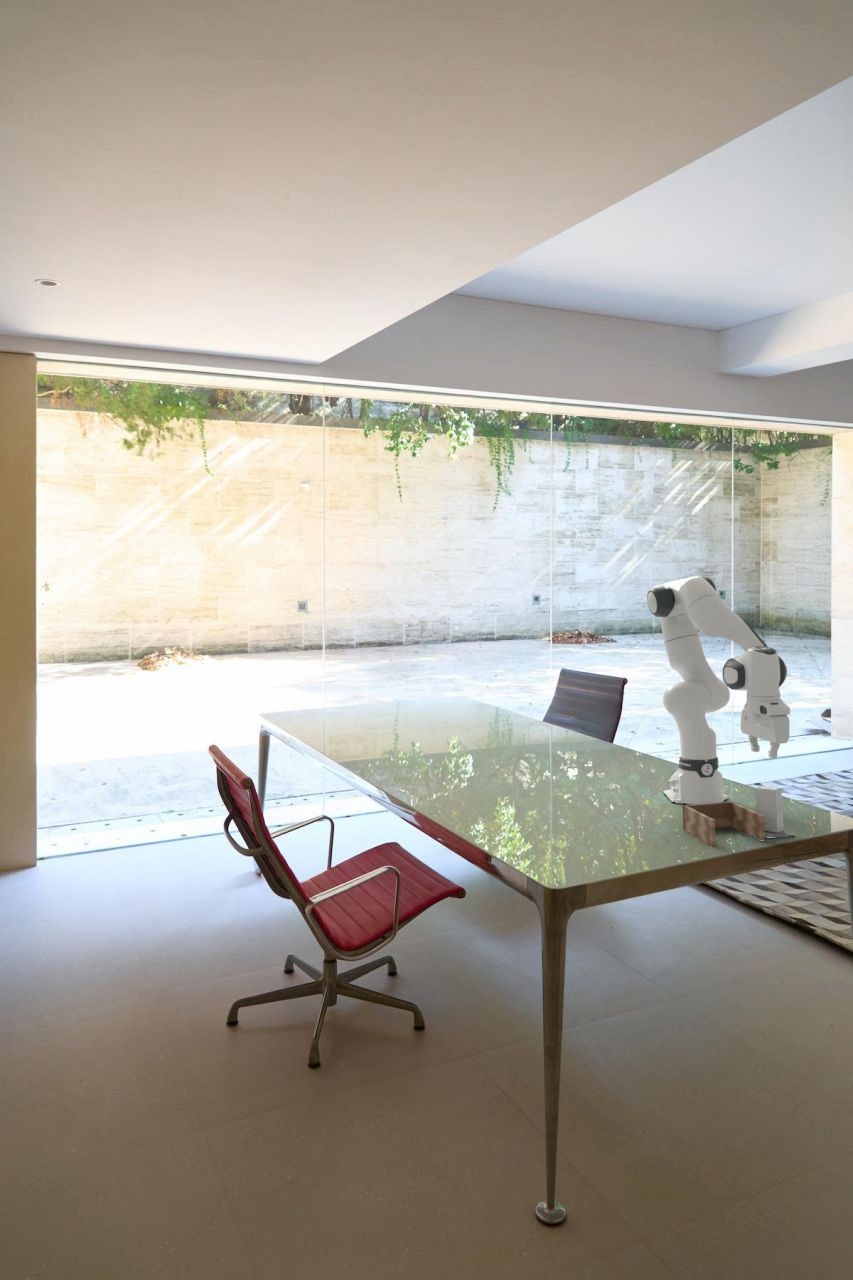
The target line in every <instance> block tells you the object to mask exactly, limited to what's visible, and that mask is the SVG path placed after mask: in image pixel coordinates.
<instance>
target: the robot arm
mask: <svg viewBox="0 0 853 1280" xmlns="http://www.w3.org/2000/svg"><path fill="white" fill-rule="evenodd" d="M713 581H714V580H712V579H711V578H710V577H708V576H697V575H696V576H691V577H689V578H688V577H687V578H680V579H676V580H673V581H669V582H668V581H667V582H665V583H663V584H661V583H658V584H656V585H654V586H652V587H650V588H649V590H648V591H647V594H646V595H647V596H646V601H647V607H648V609H649V612H650V613H651V614H652V615H654V617H658V618H660V623H661V624H660V626H661V633H662V639H663V643H664V647H665V650H666V654H667V659H668V661H669V665H670V667H671V668H672V669H673V670H674V671H676V673H678V674H679V675H680V676H681V677H682V678H681V679H683V681H681V682H678V683H675V684H673V685H671V686H670V687H668V688H667V689H666V690H665V691H664V693H663V698H662V700H663V705H664V708H665V710H666V711H667V712H668V714H670V715H671V716H672V717H673V719H674V721H675V723H676V726H677V729H678V734H679V739H680V740H679V742H680V743H679V744H680V756H679V757H678V758H679V759H678V769H677V770H676V771H675V772H674V773H673V774H672V775H671V776H670V779H668V781H667V784H668V787H670V788H669V789H666V790H663V792H664V793H665V794H666V795H667V797H668V798H669V799H670V800H671V801H672V802H675V803H674V804H684V803H685V804H684V805H695V804H708V803H720V802H725V800H728V799H729V797H728V795H727V794H725V790H724V789H725V787H724V781H723V780H724V779H723V774H722V773H721V772H720V771H719V764H720V763H719V758H718V755H717V735H716V732H715V731H714V729H712V727H710V726H709V724H708V721H707V719H706V718H707V717H706V714H708V713H714V712H716V711H717V712H718V711H719V710H721V709H722V708H724V707H726V706H727V705H728V703H729V701H730V698H731V697H730V696H731V693H730V690H734V691H746V702H745V704H744V705H743V709H742V711H741V715H740V731H741V733H742V734H744V735H748V741H749V743H750V750H751V751H752V752H755V753H759V752H760V747H761V746H760V745H759V743H758V739H760V740H764V741H767V742H769V745H770V749H769V750H768V757H769V758H771V759H776V758H778V751H779V748H780V746H781V744H787V743H788V742H789V740H790V729H791V728H790V718H789V715H790V714H791V708H790V706H789V705H787V703H785V702H784V701H783V699H782V698H781V691H780V687H781V686H782V685H783V684H784V683H785V681H786V678H787V675H788V670H787V665H786V663H785V662H784V660H783V659H782V658H781V656H779V655H778V652H777V650H776V649H774V648H773V647H770V646H768V645H767V643H766V642H765V641H764V640H763V638H762V637H760V636H759V634H758V633H757V632H756V630H755V629H754V628H753V627H752V626H751V625H750V623H748V622H747V620H745V619H744V618H743V617H741V616H740V615H738V614H736V612H734V611H733V609H731V608H729V606H728V605H727V604H726V603H725V602H724V601H723V600H722V598H721V596H720V594H719V593H718V592H717V588H716V585H715V583H714V582H713ZM699 633H702V634H703V635H706V636H710V637H715V638H716V637H717V638H720V639H721V638H723V639H725V640H729V641H732V642H734V643H736V645H739V646H740V647H741V649H742V650H743V651H744V652H745V653H743V654H740V655H737V656H735V657H731V658H729V659H727V661H725V663H724V665H723V667H722V679H723V680H721V679H720V678H718V676H717V675H716V674H715V673H714V671H713V669H712V668H711V666H710V665H709V662H708V661H707V658H706V656H705V654H704V650H703V646H702V643H701V640H700V636H699ZM667 797H666V798H667ZM668 798H667V799H668ZM669 799H668V800H669ZM670 800H669V801H670ZM671 801H670V802H671ZM672 802H671V803H672Z"/></svg>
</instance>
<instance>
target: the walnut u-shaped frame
mask: <svg viewBox="0 0 853 1280" xmlns="http://www.w3.org/2000/svg"><path fill="white" fill-rule="evenodd" d="M682 821H683V823H682V824H683V825H682V827H683V831H685V832H686V833H688V834H690V835H692V836H694V838H695V837H696V838H697V839H699V840H700V841H702V842H704V843H706V844H707V845H710V846H712V847H716V841H717V840H716V829H720V828H729V827H730V828H733V829H735V830H737V831H739V832H741V833H743V832H744V833H743V834H745V833H746V834H745V835H747V834H748V835H747V836H749V835H751V836H753V837H755V838H757V839H759V840H766V838H765V835H764V815H761V814H759V813H757V812H756V810H755V811H754V810H752V809H750V808H748V807H745V806H743V805H741V804H738V803H736V802H734V801H723V802H720V803H708V804H695V805H692V804H684V805H682ZM751 836H750V837H751ZM753 837H752V838H753ZM755 838H754V839H755ZM757 839H756V840H757ZM759 840H758V841H759Z"/></svg>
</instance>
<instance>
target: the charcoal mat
mask: <svg viewBox="0 0 853 1280" xmlns="http://www.w3.org/2000/svg"><path fill="white" fill-rule="evenodd" d="M764 835H765V836H766V837H785V836H794V835H795V836H796V834H794V833H792V832H790V831H788V830H786V829H783V831H781V832H779V833H775V832H768V831H764ZM785 838H786V837H785Z"/></svg>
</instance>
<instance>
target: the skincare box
mask: <svg viewBox="0 0 853 1280" xmlns="http://www.w3.org/2000/svg"><path fill="white" fill-rule="evenodd" d="M782 792H783V791H782V787H779V786H770V785H759V786H757V787H755V788H754V794H755V812H757V813H759V814H761V815H764V831H768V832H775V833H779V832H781V831H783V829H784V815H783V814H784V813H783V795H782V794H783V793H782ZM784 830H785V829H784Z"/></svg>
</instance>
